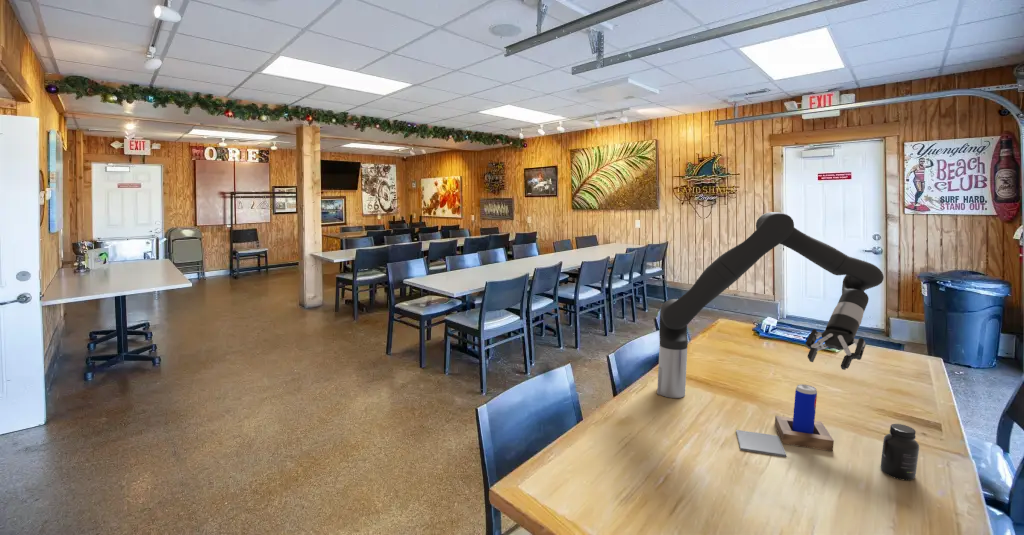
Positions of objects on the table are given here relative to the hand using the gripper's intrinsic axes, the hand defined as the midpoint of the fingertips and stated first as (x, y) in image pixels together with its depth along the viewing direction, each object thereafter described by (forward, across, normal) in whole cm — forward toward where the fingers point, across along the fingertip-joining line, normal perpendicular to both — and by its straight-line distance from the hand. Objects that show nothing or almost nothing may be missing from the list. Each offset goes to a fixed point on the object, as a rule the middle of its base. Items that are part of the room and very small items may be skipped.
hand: (826, 364), depth 140 cm
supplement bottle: (+22, +22, +5) cm, 32 cm away
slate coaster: (+31, -6, -5) cm, 32 cm away
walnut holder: (+22, 0, +5) cm, 23 cm away
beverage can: (+22, 0, +5) cm, 23 cm away
